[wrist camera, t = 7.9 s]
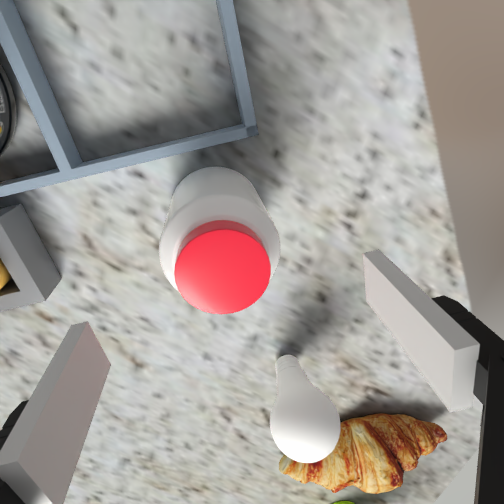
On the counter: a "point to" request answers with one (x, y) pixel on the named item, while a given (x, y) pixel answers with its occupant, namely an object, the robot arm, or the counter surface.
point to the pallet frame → (54, 126)
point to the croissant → (370, 453)
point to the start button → (4, 274)
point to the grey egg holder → (24, 261)
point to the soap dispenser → (343, 502)
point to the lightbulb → (302, 415)
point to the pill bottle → (218, 241)
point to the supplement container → (6, 112)
